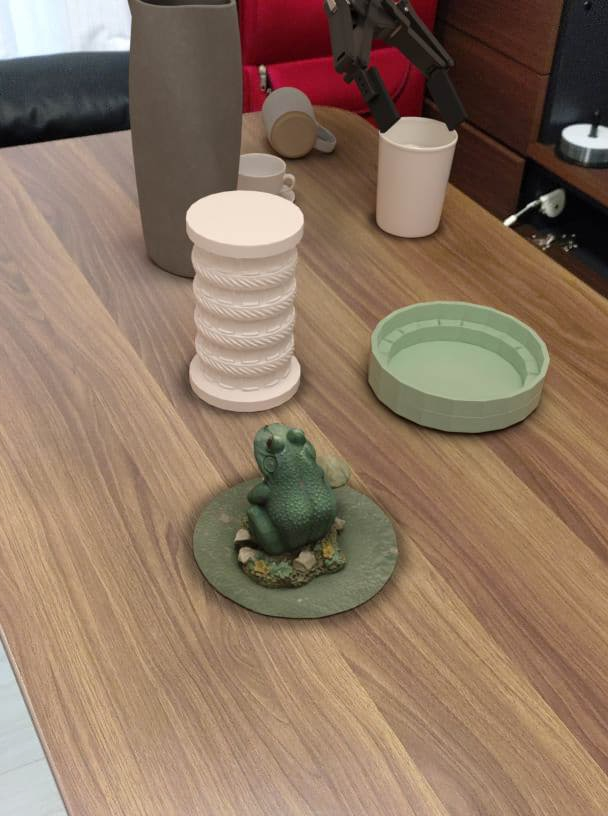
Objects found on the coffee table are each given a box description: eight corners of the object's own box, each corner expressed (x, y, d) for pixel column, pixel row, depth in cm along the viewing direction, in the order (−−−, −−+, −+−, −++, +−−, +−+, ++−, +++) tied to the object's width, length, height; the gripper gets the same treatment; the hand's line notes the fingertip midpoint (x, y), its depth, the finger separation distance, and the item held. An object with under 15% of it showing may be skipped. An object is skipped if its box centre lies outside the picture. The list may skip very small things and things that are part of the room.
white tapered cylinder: (359, 230, 127) (367, 138, 118) (384, 200, 133) (393, 111, 125) (431, 247, 124) (444, 154, 116) (453, 216, 131) (467, 125, 122)
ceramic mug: (269, 162, 140) (271, 107, 135) (260, 139, 146) (261, 85, 141) (340, 160, 142) (345, 107, 137) (329, 138, 148) (333, 85, 142)
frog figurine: (334, 454, 94) (342, 352, 86) (437, 577, 83) (458, 473, 75) (161, 508, 87) (152, 403, 79) (248, 649, 76) (248, 544, 68)
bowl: (526, 340, 110) (535, 305, 107) (552, 441, 97) (562, 405, 94) (365, 332, 109) (369, 296, 106) (369, 432, 96) (374, 395, 93)
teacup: (212, 209, 129) (211, 175, 126) (232, 178, 136) (232, 144, 133) (285, 220, 128) (286, 185, 125) (302, 188, 135) (303, 154, 132)
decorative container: (193, 415, 97) (186, 249, 85) (185, 350, 105) (177, 190, 93) (308, 408, 99) (317, 244, 86) (291, 345, 107) (297, 187, 94)
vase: (244, 287, 115) (243, 10, 94) (139, 287, 114) (115, 7, 93) (241, 237, 124) (241, -26, 103) (144, 237, 123) (124, -30, 102)
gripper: (390, -6, 125) (462, 142, 125) (254, -24, 108) (336, 147, 108) (432, -50, 120) (506, 105, 119) (295, -76, 103) (382, 104, 102)
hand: (426, 125), depth 113 cm, fingers open, 13 cm apart
